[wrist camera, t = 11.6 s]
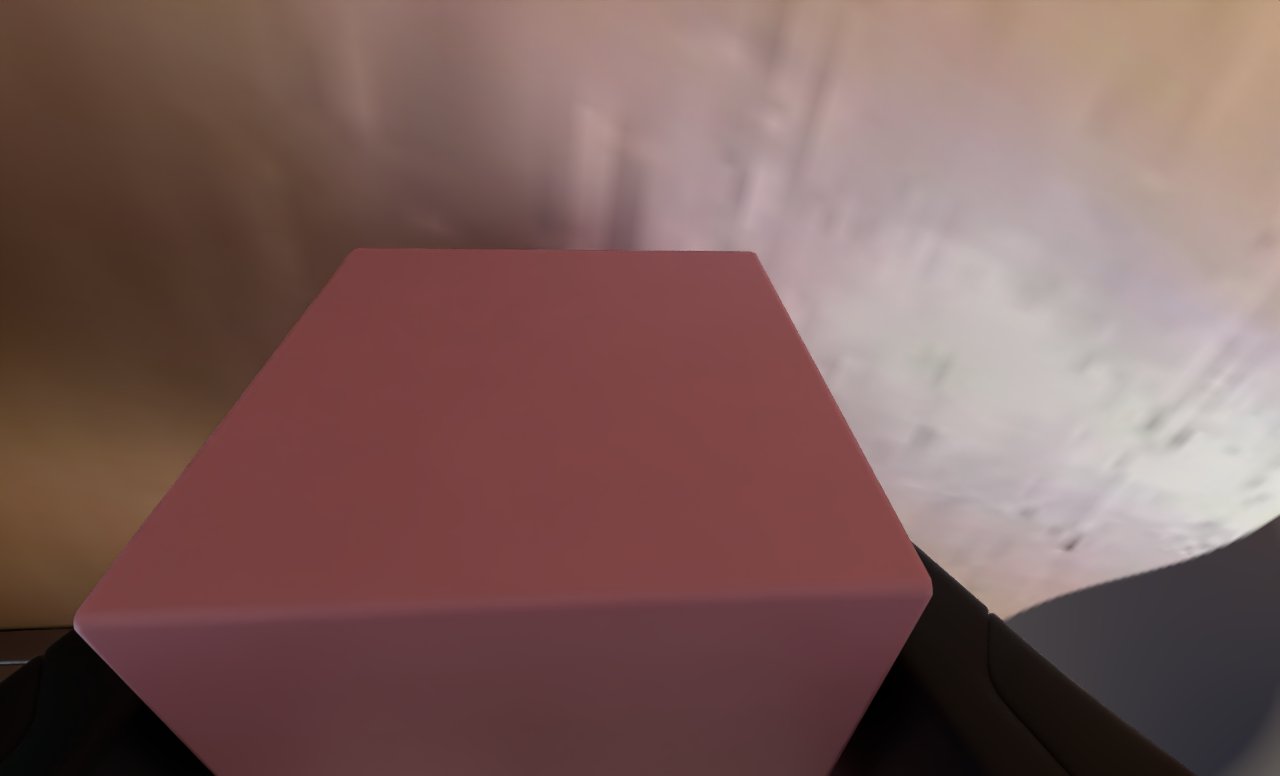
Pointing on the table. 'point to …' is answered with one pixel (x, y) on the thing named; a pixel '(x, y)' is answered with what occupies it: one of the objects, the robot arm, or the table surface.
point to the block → (521, 534)
